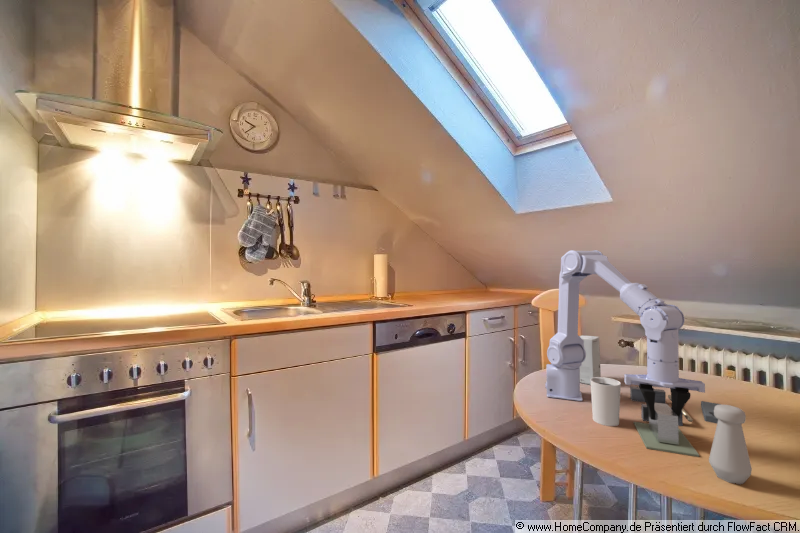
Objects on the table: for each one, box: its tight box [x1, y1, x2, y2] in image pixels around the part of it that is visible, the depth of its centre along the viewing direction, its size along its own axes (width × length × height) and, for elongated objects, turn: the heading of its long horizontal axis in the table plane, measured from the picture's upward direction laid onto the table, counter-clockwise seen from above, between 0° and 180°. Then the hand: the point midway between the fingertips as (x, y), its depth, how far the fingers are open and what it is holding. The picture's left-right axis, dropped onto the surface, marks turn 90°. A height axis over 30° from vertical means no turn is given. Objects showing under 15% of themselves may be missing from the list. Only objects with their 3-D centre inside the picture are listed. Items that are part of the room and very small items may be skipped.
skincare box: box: [578, 334, 602, 386], centre depth 119 cm, size 8×6×15 cm
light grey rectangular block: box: [648, 403, 679, 445], centre depth 80 cm, size 4×8×6 cm, turn 157°
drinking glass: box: [590, 376, 622, 427], centre depth 89 cm, size 7×7×10 cm
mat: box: [633, 421, 700, 458], centre depth 80 cm, size 9×13×1 cm
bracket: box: [700, 400, 722, 424], centre depth 91 cm, size 4×11×2 cm, turn 144°
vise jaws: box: [629, 385, 694, 427], centre depth 94 cm, size 10×16×4 cm, turn 157°
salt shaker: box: [708, 404, 752, 485], centre depth 65 cm, size 6×6×13 cm
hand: (663, 419), depth 80 cm, fingers closed on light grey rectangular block, 4 cm apart
